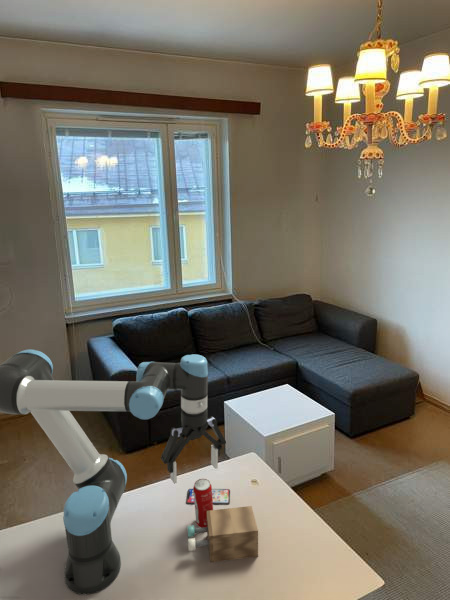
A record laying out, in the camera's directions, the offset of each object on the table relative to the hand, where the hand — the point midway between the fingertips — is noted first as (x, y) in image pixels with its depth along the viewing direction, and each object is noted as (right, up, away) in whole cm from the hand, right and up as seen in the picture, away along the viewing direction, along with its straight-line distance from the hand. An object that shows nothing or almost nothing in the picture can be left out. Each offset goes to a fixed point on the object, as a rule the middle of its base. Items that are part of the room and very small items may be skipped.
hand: (194, 473), depth 126 cm
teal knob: (+2, -19, +2) cm, 19 cm away
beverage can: (+2, -20, +10) cm, 23 cm away
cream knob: (+3, -20, -3) cm, 21 cm away
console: (+11, -22, +1) cm, 25 cm away
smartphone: (+3, -18, +22) cm, 29 cm away
